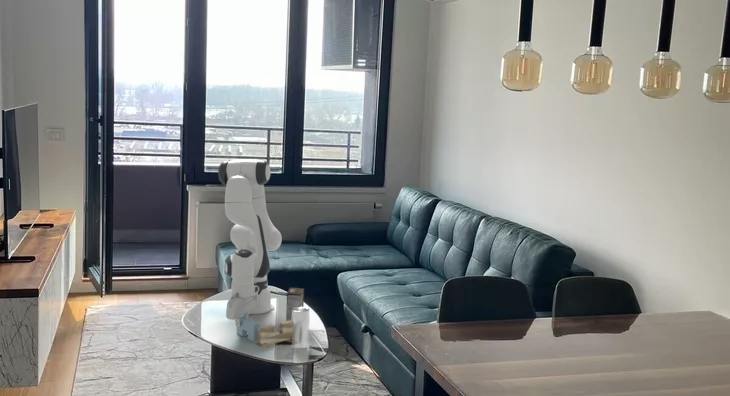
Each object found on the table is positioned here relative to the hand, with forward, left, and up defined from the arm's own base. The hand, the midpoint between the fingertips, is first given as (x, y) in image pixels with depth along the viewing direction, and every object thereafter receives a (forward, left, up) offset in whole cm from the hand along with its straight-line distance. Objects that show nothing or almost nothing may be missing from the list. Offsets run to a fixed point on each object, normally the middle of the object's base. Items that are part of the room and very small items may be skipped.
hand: (241, 324), depth 278 cm
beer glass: (+17, +21, -4) cm, 27 cm away
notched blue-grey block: (+4, +2, -4) cm, 6 cm away
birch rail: (+10, +13, -4) cm, 17 cm away
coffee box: (-6, +22, -4) cm, 23 cm away
